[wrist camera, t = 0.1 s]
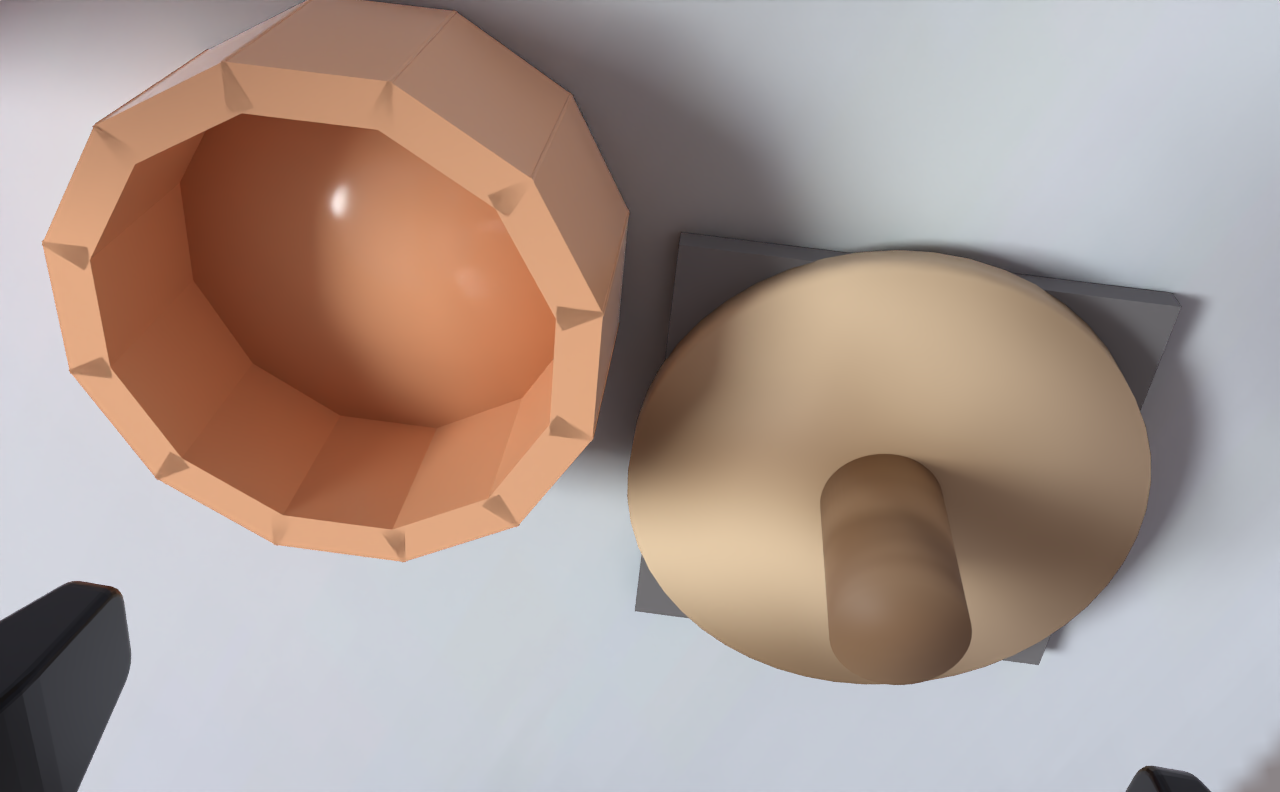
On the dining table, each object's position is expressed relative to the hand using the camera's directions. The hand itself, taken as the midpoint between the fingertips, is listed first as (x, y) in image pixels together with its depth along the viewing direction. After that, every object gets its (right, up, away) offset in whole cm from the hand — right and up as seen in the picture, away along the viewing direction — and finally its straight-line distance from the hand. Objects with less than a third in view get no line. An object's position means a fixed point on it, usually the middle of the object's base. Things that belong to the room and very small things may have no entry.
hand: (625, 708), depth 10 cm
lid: (+5, +1, +15) cm, 16 cm away
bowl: (-5, +6, +14) cm, 16 cm away
